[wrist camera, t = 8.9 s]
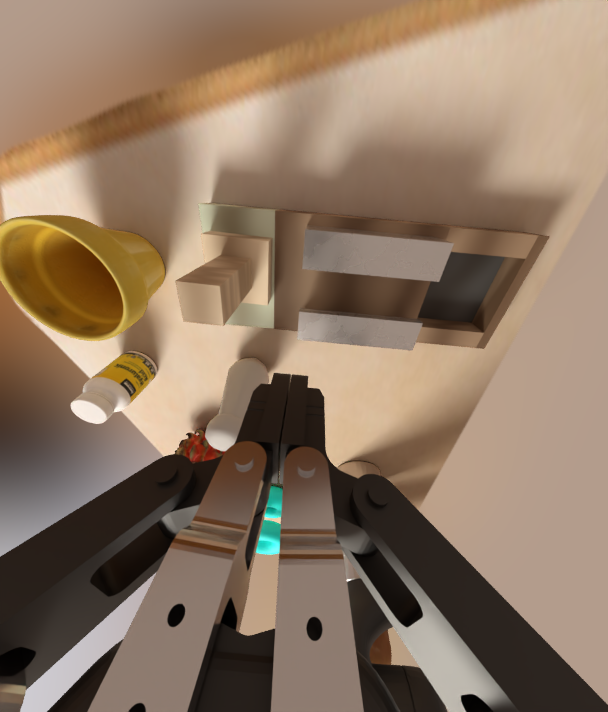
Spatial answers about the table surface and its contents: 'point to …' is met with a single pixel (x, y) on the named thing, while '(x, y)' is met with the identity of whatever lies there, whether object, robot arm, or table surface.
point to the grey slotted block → (374, 259)
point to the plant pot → (78, 274)
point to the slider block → (226, 277)
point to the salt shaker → (235, 402)
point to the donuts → (271, 524)
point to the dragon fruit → (198, 448)
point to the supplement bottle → (114, 387)
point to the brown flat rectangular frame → (385, 294)
